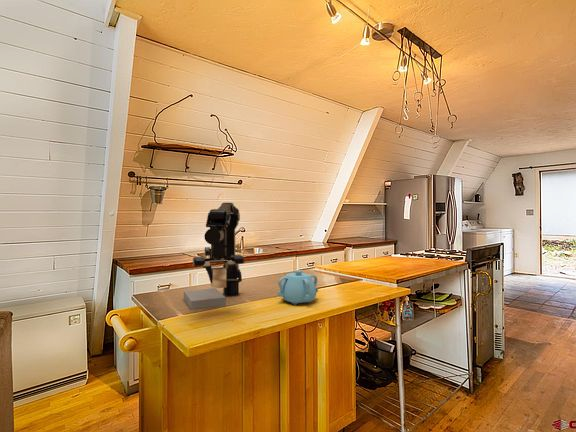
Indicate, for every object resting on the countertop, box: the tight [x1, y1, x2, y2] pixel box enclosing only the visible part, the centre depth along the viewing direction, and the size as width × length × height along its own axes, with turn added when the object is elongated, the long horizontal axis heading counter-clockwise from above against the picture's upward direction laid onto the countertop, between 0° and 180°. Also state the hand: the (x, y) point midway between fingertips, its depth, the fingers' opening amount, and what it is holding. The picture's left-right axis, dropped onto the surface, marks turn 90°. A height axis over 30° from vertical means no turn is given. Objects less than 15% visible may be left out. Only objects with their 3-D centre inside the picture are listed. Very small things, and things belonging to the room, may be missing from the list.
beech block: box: [210, 266, 226, 289], centre depth 122 cm, size 5×5×7 cm
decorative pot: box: [277, 269, 319, 305], centre depth 140 cm, size 16×16×14 cm
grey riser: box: [183, 287, 227, 311], centre depth 137 cm, size 14×18×4 cm
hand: (218, 282), depth 122 cm, fingers closed on beech block, 5 cm apart
